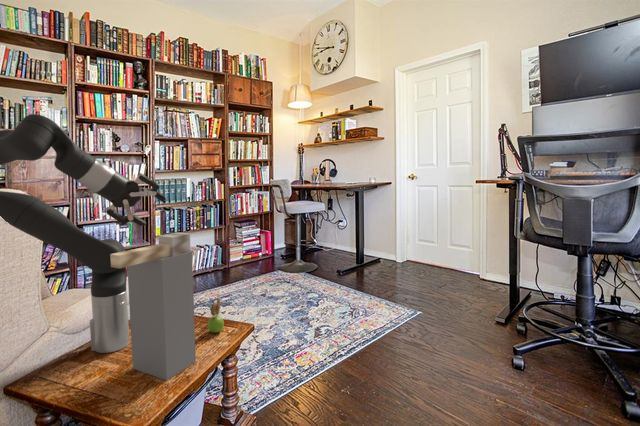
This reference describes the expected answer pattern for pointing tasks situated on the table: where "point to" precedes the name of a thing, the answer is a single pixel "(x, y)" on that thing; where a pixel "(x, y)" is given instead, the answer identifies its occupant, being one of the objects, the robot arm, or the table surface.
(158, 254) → the beam
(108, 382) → the table surface
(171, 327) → the pedestal
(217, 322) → the snail figurine
